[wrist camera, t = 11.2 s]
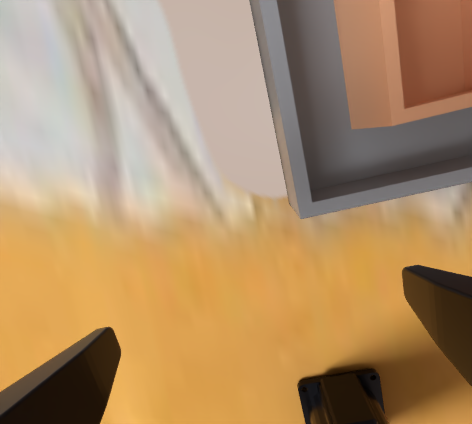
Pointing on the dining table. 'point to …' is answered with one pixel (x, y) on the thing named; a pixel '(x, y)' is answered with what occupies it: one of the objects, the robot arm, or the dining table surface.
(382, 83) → the small crate
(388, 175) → the big crate
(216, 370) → the dining table surface
